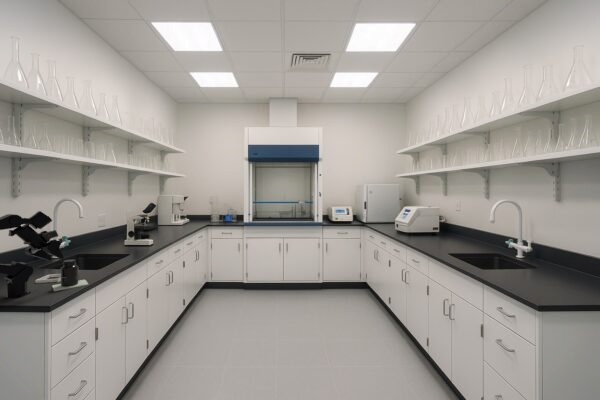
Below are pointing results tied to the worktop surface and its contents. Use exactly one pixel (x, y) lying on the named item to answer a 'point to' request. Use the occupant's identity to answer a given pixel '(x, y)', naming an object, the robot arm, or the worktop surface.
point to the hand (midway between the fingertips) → (56, 259)
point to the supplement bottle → (69, 273)
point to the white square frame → (44, 279)
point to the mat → (59, 287)
